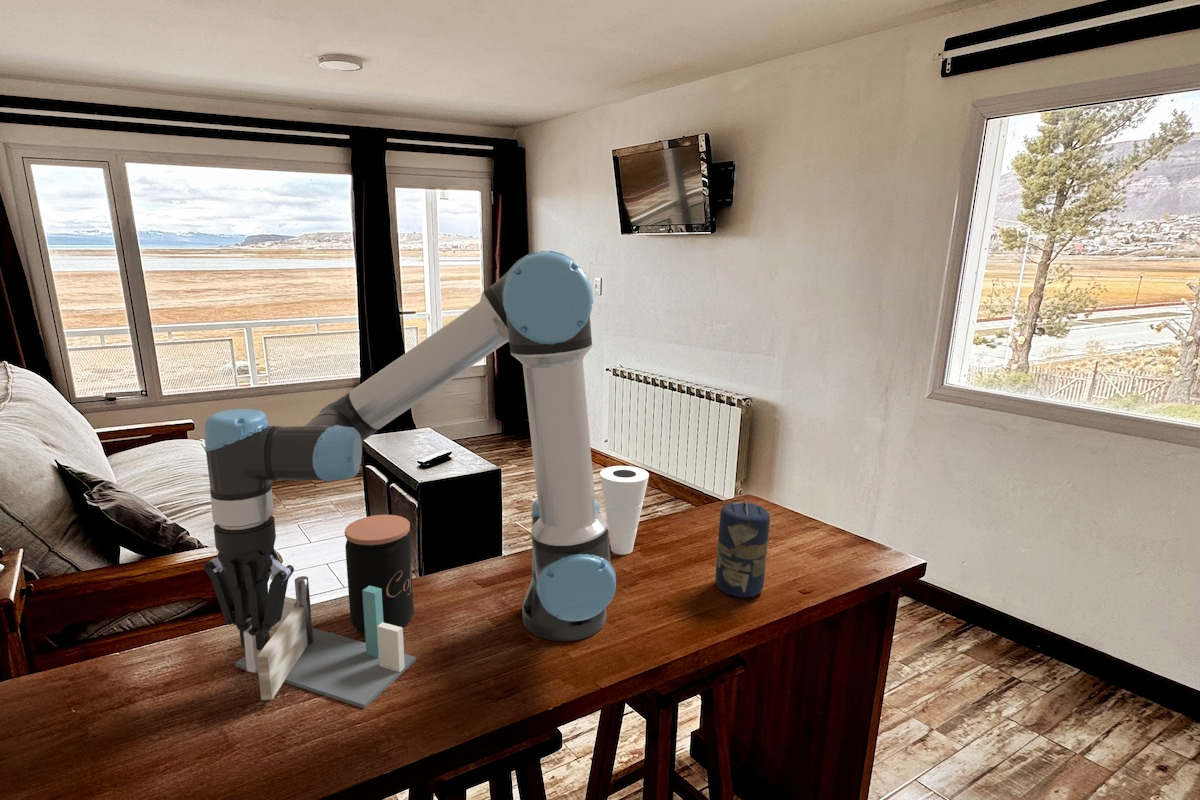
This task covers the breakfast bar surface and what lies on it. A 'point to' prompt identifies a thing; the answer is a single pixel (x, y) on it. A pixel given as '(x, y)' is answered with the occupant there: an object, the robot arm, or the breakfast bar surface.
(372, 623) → the bar
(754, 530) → the canister
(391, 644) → the fence
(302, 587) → the hinge post
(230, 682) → the breakfast bar surface
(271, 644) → the gate
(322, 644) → the mat
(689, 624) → the breakfast bar surface
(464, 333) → the robot arm
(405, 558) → the coffee jar
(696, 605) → the breakfast bar surface
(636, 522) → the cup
